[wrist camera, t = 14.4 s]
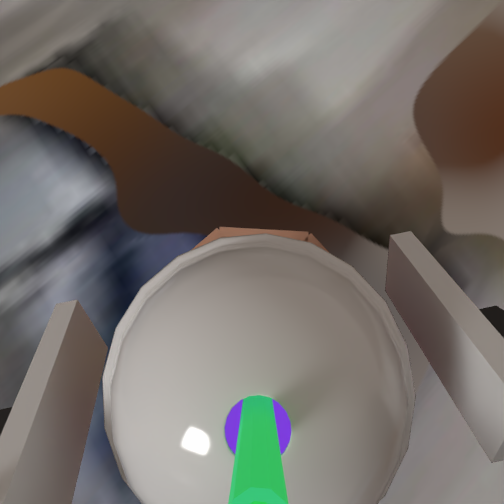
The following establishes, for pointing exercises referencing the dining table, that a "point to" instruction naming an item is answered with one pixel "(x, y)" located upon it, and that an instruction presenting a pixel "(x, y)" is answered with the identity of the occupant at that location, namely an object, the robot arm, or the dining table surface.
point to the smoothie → (258, 380)
